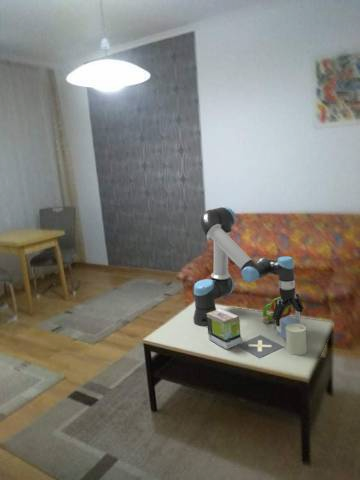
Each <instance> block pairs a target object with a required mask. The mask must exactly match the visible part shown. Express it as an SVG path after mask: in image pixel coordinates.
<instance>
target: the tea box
mask: <svg viewBox="0 0 360 480" xmlns="http://www.w3.org/2000/svg"><path fill="white" fill-rule="evenodd" d="M206 314H207V325H208V326H207V332H208V333H207V335H208V340H210V341H211V342H213V343H215V344H217V345H218V346H220V347H222V348H224V349H226V350H228V349H230V348H233V347H236V346H237V345H238V344H240V343H242V336H241V324H240V322H241V321H240V315H238V314H235V313H232V312H230V311H228V310H226V309H223V308H218V309H216V310H215V311H212V312H209V313H206Z"/></svg>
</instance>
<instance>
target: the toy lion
mask: <svg viewBox="0 0 360 480" xmlns="http://www.w3.org/2000/svg"><path fill="white" fill-rule="evenodd" d="M277 299H278V300H281V296H278V297H275V298H274V299H273V300H272V301H271V303H267V304H266V305H265V306H264V307H263V309H262V316H263V317H262V322H263V324H265V325H266V324H267V325H268V324H270V322H271V321H272V322H273V321H274V322H276V320H274V319H272V316H273V313H274V309H275V306H276V300H277ZM283 306H284V305H283ZM267 309H270V310H272V311H273V312H271V313H270V314H268V312H267ZM293 309H294V307H293V306H292V305H289V306H287V308H285V310H284V312H283V314H282V316H281V318H283V317H286V316H289V317H290V315H291V313H292V312H293ZM281 318H280V319H281Z"/></svg>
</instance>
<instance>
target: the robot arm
mask: <svg viewBox="0 0 360 480" xmlns="http://www.w3.org/2000/svg"><path fill="white" fill-rule="evenodd" d="M236 222H237V216H236V213H235V211H233V209H232V208H231V207H229V206H221V207H216V208H213V209H207V210H205V211H204V212H203V213H202V214H201V215H200V218H199V226H200V229H201V231H202V233H203V234H204V235H205V236H206V237H207V238H208V239H211V240H212V241H213V267H212V268H213V272H212V273H211V274H210V278H209V279H208V278H207V279H206V278H205V279H200V280H198V281H197V282H195V283H194V284H193V296H194V298H193V299H194V306H195V308H194V314H193V323H194V324H195V325H197V326H200V327H201V326H202V327H204V326H205V327H208V325H207V314H206V313H209V312H212V311H215V310H217V308H216V300H217V301H218V300H219V299H221V298H223V297H227V296H229V295H230V294H232V293H233V291H234V289H235V281H234V280H233V278H232V276H231V274H230V273H229V259H230V260H231V261H232V262H233V263H234V264H235V265H236V267H238V268H239V269H240V271H241V276H242V279H243V280H244V282H247V283H253V282H255V281H258V280H259V279H261V278H263V277H266V276H268V275H273V276H274V275H275V276H278V289H279V290H278V291H279V297H281V300H278V299H277V300H276V306H275V309H274V311H273V312H272V313H273V316H272V319H274V320H276V321H275V326H276V332H277V331H279V332H282V322H281V319H280V318H281V316H282V314H283V312H284V310H285V308H287V306H289V305H292V308H293V309H295V311H294V313H295V314H294V316H295V317H294V318H295V319H297V320H300V324H302V323H301V317H302V316H301V315H302V313H303V310H304V305H303V303H302V301H301V299H300V295H299V294H298V293H296V288H295V286H296V283H295V282H296V281H295V262H294V258H293V257H291V256H285V255H284V256H279V257H278V258H277V259H272V258H267V257H266V258H265V257H263V258H262V257H261V258H259V259H258V261H257V262H255V261H254V260H253V259H252V258H251V257H250V256H249V255H248V254H247V253H246V252H245V251H244V250H243V249H242V248H241V246H239V245H238V244H237V243H236V242H235V240H233V238H231V237H230V236H229V235H230V233H232V231H233V229H232V227H233V226H234V225H235V224H236ZM283 305H284V306H283Z"/></svg>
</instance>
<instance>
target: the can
mask: <svg viewBox="0 0 360 480" xmlns="http://www.w3.org/2000/svg"><path fill="white" fill-rule="evenodd" d="M285 339H286V340H285V341H286V342H285V343H286V345H285V346H286V348H285V350H286V352H287V353H288V354H290V355H294V356H302V355H305V354H306V353H307V352H308V351H307V350H308V348H307V326H305V325H304V324H302V323H301V324H297V323H292V324H288V325H287V326H286V338H285Z"/></svg>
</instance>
